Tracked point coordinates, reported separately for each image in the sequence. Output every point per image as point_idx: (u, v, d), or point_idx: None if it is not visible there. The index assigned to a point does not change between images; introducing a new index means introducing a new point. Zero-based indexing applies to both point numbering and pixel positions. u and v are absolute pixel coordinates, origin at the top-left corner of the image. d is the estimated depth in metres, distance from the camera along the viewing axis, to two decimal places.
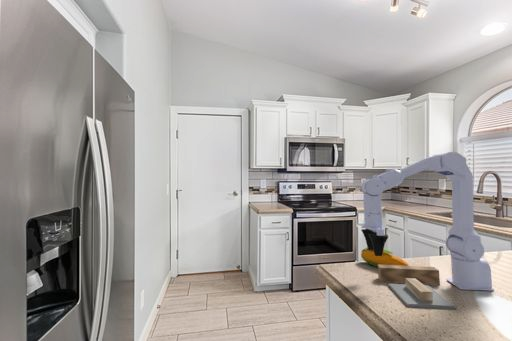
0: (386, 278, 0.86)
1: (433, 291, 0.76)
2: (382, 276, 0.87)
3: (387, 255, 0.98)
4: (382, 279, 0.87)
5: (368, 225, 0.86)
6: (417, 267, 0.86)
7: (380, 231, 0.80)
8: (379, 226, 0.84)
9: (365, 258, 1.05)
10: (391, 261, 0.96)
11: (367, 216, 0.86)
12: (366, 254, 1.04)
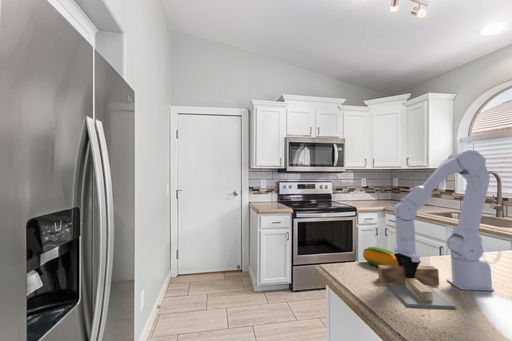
0: (387, 279, 0.86)
1: (433, 291, 0.76)
2: (383, 277, 0.86)
3: (388, 255, 0.98)
4: (383, 279, 0.86)
5: (401, 250, 0.86)
6: None
7: (416, 257, 0.80)
8: (413, 251, 0.84)
9: (366, 258, 1.05)
10: (391, 261, 0.96)
11: (400, 241, 0.86)
12: (367, 254, 1.05)
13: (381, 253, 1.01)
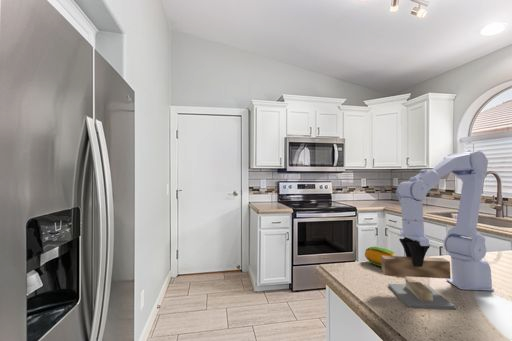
0: (391, 270, 0.77)
1: (433, 291, 0.76)
2: (387, 269, 0.77)
3: (388, 255, 0.98)
4: (387, 271, 0.77)
5: (408, 233, 0.76)
6: (425, 258, 0.77)
7: (424, 241, 0.71)
8: (421, 235, 0.75)
9: (368, 257, 1.06)
10: None
11: (406, 223, 0.77)
12: (368, 254, 1.05)
13: (382, 253, 1.01)
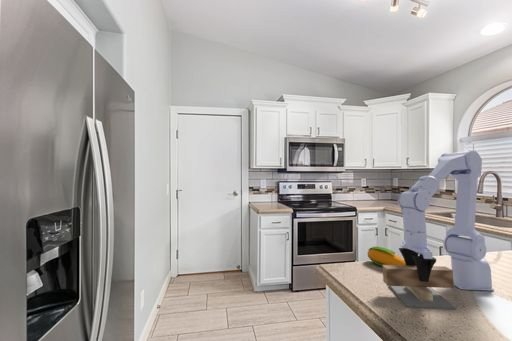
0: (393, 281, 0.75)
1: (433, 291, 0.76)
2: (389, 279, 0.75)
3: (390, 255, 0.98)
4: (389, 282, 0.75)
5: (410, 245, 0.74)
6: None
7: (428, 254, 0.69)
8: (424, 246, 0.73)
9: (370, 257, 1.06)
10: (392, 261, 0.96)
11: (409, 234, 0.75)
12: (370, 253, 1.06)
13: (383, 253, 1.01)
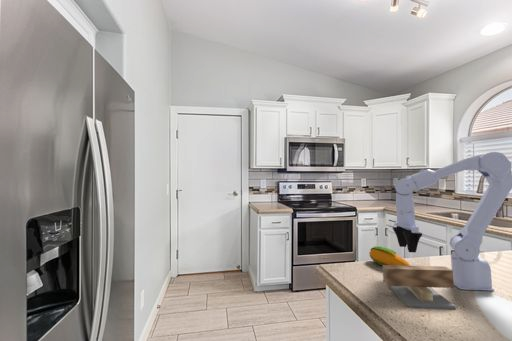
0: (393, 281, 0.75)
1: (433, 291, 0.76)
2: (389, 279, 0.75)
3: (390, 255, 0.98)
4: (389, 282, 0.75)
5: (401, 223, 0.90)
6: (427, 267, 0.75)
7: (415, 228, 0.84)
8: (412, 224, 0.88)
9: (372, 257, 1.06)
10: (393, 261, 0.96)
11: (400, 214, 0.90)
12: (372, 253, 1.06)
13: (384, 252, 1.01)
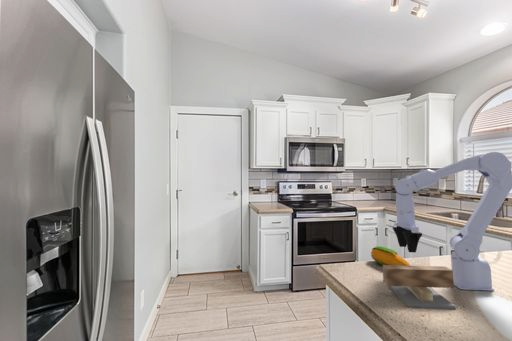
0: (393, 281, 0.75)
1: (433, 291, 0.76)
2: (389, 279, 0.75)
3: (391, 255, 0.98)
4: (389, 282, 0.75)
5: (401, 223, 0.90)
6: (427, 267, 0.75)
7: (415, 228, 0.84)
8: (412, 224, 0.88)
9: (373, 256, 1.07)
10: (393, 261, 0.96)
11: (400, 214, 0.90)
12: (373, 253, 1.06)
13: (385, 252, 1.01)
